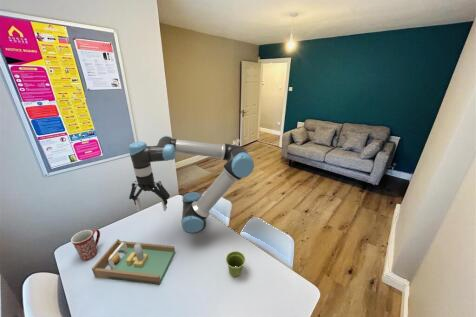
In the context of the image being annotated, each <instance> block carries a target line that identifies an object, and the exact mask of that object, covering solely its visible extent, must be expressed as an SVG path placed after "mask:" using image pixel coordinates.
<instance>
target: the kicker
mask: <svg viewBox="0 0 476 317" xmlns="http://www.w3.org/2000/svg"><path fill="white" fill-rule="evenodd" d="M136 243H137V244H135V245H134V249H135V252H132V253H131V254H130V256H129V257H128V258H127V260H126V262H127V265H131V264H132V263H133V262H134V263H133V264H134V266H135V267H142V266H143V264H144V263H145V261H146V260H147V258H148V254H143V252H142V248H141V244H140V243H141V242H136Z"/></svg>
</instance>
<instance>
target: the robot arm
mask: <svg viewBox="0 0 476 317" xmlns="http://www.w3.org/2000/svg"><path fill="white" fill-rule="evenodd" d="M128 151H129V156H130V160H131V162H132V166H133V171H134V175H135V178H136V180H135V181H133V182H132V183H131V189H130V193H129V197H128V199H129V200H133V202H134V205H135V206H136V209H137V211H138V212H140V211H141V210H142V208H143V207H142V203H141V199H140V197H139V196H140V195H141V194H142V192H143V191H144V192H152V193H154V194H156V196H158V197H159V198H160V199H161V205H162V209H163V212H166V210H167V208H168V207H167V206H168V205H167V204H168V200H169V199H170V196H171V195H170V193H169V192H168V190H166V188H165V187H164V185H163V183H162V181H161V180H158V182H155V177H154V172H153V168H152V164H151V163H153V162H154V163H155V162H164V161H165V162H167V161H173V160H175V159H176V154H183V155H191V156H200V157H201V156H202V157H208V158H209V157H210V158H217V159H218V158H220V159H221V161H226V162H225V163H224V165H223V166H222V167H223V170H222V172H220V174H219V175H218V176H217V177H216V178H215V180H214V181H213V182H212V183H211V184H210V186H208V188H207V189H206V190H205V191H204V192H203V194H201V193H199V192H197V191H194V192H193V191H191V192H188V193H185V194H184V195H182V213H181V215H182V216H181V227H182V229H183V231H185V232H187V233H188V234H190V233H191V234H196V233H199V232H201V231H202V230H204V229H205V228H206V226H207V218H208V217H209V216H210V211H211V210H212V209H213V207H215V205H216V204H217V203H218V202H219V200H220V199H221V198H222V197H223V196H224V195H225V193H226V192H228V190H229V189H230V188H231V187H232V185H234V183H235V182H236V181H240V180H242V178H246V177H248V176H250V175H251V173H252V172H253V170H254V169H255V168H254V167H255V163H254V160H253V158H252V156H251V154H249V152H248V151H247V149H246V148H245V147H243V146H241V145H238V144H230V143H222V144H218V143H209V142H201V141H193V140H187V139H186V140H184V139H177V138H172V137H171V136H169V135H163V136H161V138H160V139H159V140H158V142H157V145H147V143H146V141H136V142H135V141H134V142H133V143H131V144H129V145H128ZM137 187H139V189H138V191H137V193H136V190H137Z"/></svg>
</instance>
